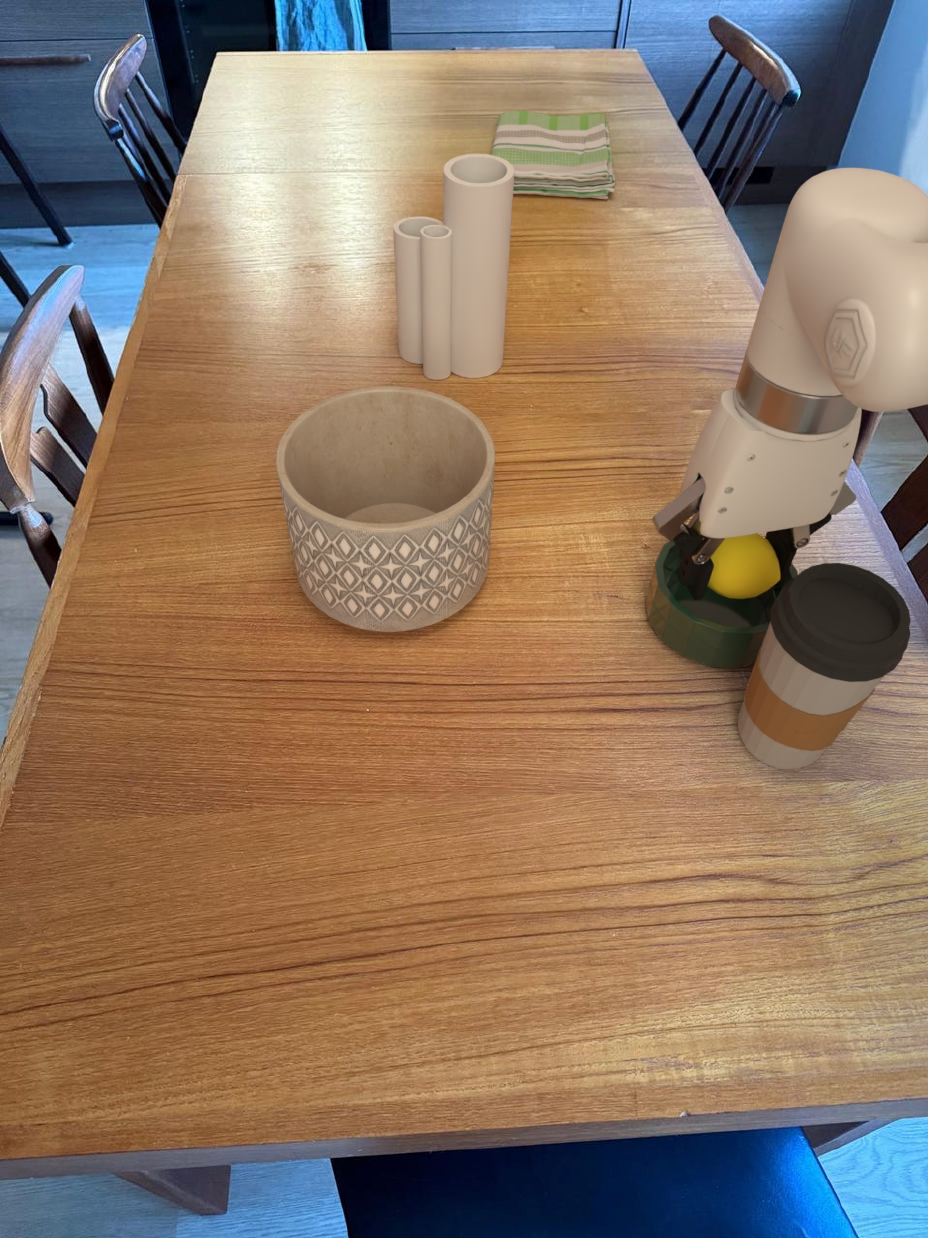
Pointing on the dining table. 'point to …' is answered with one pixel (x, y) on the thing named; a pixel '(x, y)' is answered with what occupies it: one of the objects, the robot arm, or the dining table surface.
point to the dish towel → (557, 153)
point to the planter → (388, 506)
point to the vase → (457, 272)
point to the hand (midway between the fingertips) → (730, 578)
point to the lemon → (744, 567)
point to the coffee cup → (820, 661)
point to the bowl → (707, 616)
